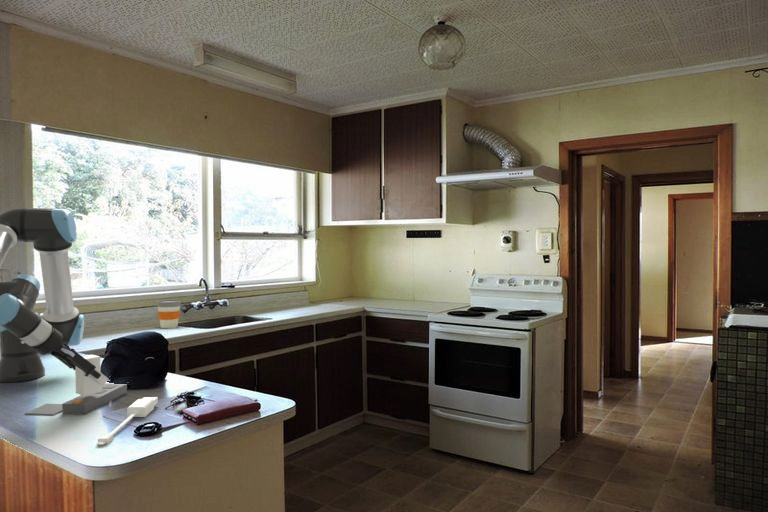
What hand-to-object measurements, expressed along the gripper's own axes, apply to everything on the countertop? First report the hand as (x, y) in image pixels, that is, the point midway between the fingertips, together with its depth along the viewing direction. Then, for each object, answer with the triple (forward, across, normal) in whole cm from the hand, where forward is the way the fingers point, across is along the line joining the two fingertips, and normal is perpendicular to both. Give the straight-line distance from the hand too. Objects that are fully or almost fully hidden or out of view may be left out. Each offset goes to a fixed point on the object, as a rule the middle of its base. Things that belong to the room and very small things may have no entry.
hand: (100, 380), depth 168 cm
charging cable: (+2, +24, -8) cm, 25 cm away
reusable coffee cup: (+74, -108, +62) cm, 145 cm away
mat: (-3, -6, -14) cm, 15 cm away
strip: (+7, -4, -3) cm, 9 cm away
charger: (-1, 0, -5) cm, 5 cm away
